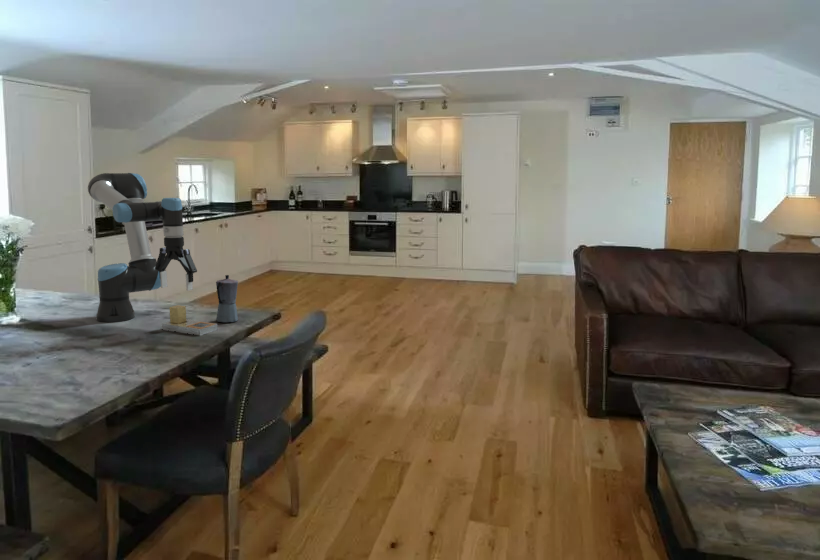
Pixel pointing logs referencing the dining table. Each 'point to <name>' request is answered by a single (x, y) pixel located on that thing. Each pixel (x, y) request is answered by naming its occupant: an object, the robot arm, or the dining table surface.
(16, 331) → the dining table surface
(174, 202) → the robot arm
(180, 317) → the tan rectangular block
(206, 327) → the grey shape sorter board
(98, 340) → the dining table surface
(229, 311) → the moka pot
